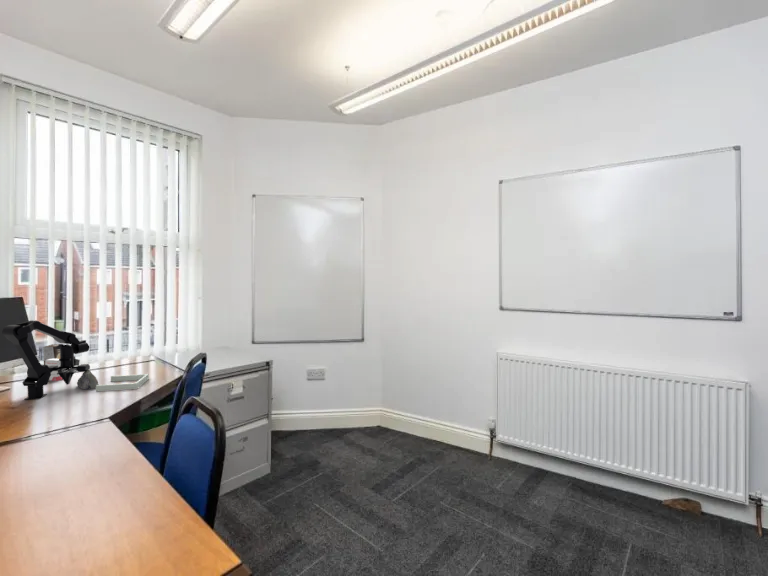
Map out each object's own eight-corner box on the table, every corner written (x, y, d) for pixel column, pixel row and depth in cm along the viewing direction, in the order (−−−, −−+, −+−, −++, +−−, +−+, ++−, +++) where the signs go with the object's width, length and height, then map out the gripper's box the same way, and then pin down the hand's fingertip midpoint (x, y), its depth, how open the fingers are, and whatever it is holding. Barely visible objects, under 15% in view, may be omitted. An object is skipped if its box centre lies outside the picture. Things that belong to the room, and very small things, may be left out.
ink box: (66, 378, 220) (66, 358, 220) (58, 381, 215) (57, 360, 215) (53, 377, 221) (52, 358, 221) (44, 380, 216) (44, 360, 216)
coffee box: (56, 372, 234) (55, 346, 233) (43, 372, 232) (42, 347, 231) (63, 368, 242) (63, 343, 242) (51, 368, 241) (51, 344, 240)
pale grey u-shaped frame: (136, 388, 204) (136, 383, 204) (96, 391, 199) (95, 385, 198) (148, 378, 222) (148, 373, 222) (111, 381, 217) (111, 375, 217)
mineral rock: (78, 385, 209) (78, 367, 208) (102, 382, 214) (102, 365, 214) (72, 391, 198) (72, 373, 197) (97, 389, 203) (97, 370, 202)
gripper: (94, 351, 213) (94, 379, 213) (54, 353, 207) (55, 381, 208) (84, 356, 202) (85, 384, 203) (42, 358, 197) (43, 387, 197)
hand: (67, 384), depth 203 cm, fingers closed
